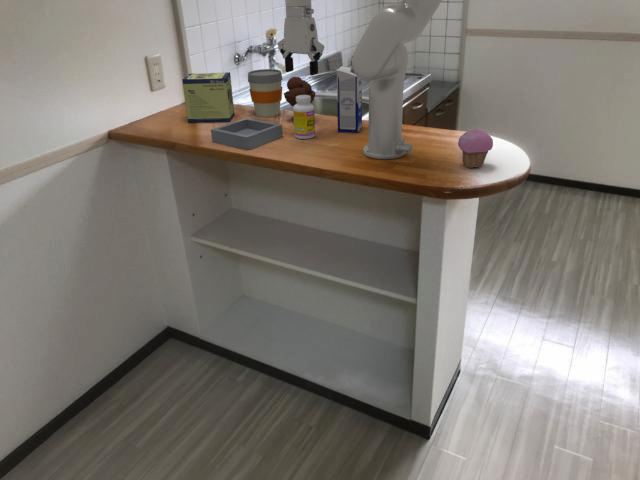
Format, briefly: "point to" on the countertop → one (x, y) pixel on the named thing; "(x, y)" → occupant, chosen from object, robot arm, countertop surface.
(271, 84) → the reusable coffee cup
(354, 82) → the milk carton
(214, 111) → the protein box
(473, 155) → the cupcake
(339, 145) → the countertop surface
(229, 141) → the gray rectangular tray
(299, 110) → the supplement bottle
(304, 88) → the ice cream bowl
